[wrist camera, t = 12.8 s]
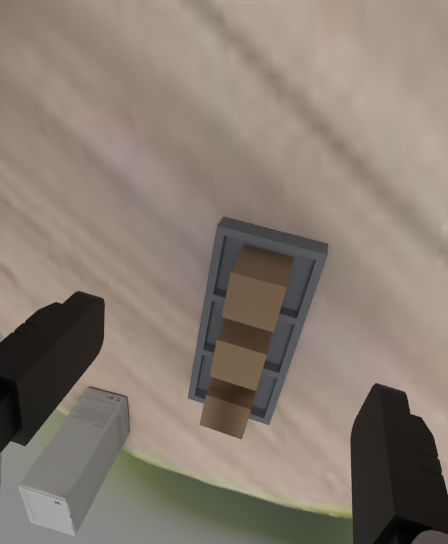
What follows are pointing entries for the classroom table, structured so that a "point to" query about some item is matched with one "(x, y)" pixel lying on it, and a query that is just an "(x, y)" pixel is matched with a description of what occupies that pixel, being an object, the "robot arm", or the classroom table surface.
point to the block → (227, 407)
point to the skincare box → (76, 462)
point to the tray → (286, 314)
